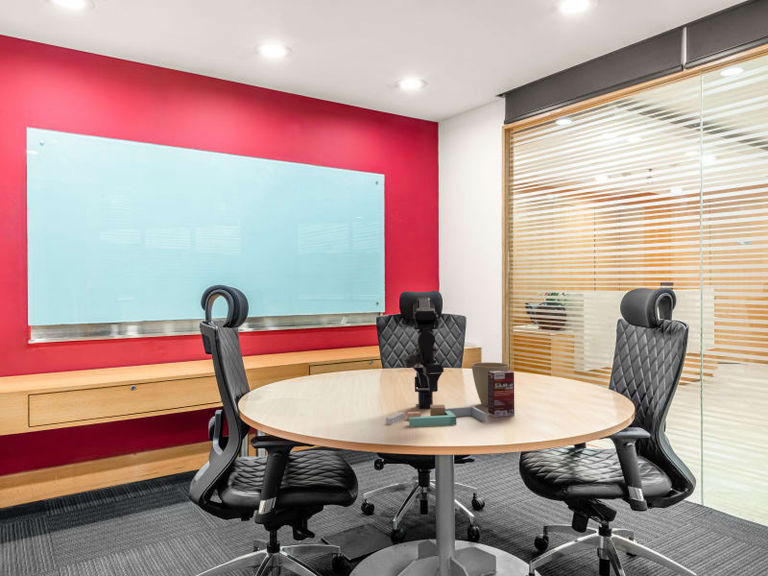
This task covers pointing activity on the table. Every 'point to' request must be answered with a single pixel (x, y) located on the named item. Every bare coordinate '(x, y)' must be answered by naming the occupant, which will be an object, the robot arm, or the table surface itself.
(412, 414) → the offcut
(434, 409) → the block
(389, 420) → the stick
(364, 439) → the table surface
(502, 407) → the supplement box
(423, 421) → the crook
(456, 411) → the gray angle bracket
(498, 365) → the plant pot
